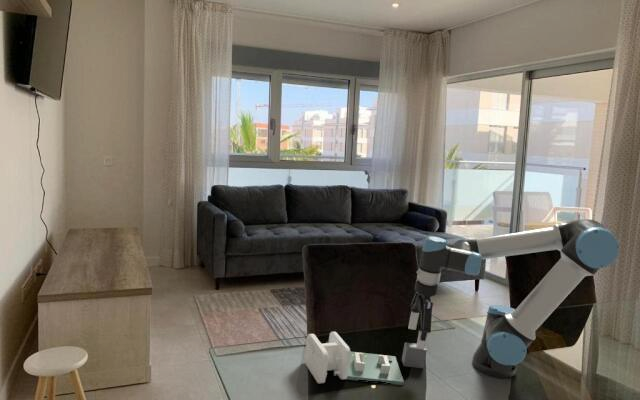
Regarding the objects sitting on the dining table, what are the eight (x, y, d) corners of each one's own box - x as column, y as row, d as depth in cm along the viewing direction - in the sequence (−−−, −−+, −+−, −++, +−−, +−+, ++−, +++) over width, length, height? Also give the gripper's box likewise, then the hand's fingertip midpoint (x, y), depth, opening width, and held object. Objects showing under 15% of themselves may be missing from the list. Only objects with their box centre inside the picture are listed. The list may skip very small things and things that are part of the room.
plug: (420, 362, 176) (424, 343, 175) (423, 368, 172) (427, 348, 171) (401, 360, 176) (405, 340, 174) (403, 366, 172) (407, 346, 170)
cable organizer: (348, 384, 157) (353, 351, 155) (317, 388, 153) (322, 354, 151) (330, 360, 170) (334, 329, 168) (301, 362, 166) (305, 331, 164)
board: (394, 359, 176) (396, 348, 175) (403, 385, 160) (405, 373, 159) (339, 353, 175) (341, 342, 174) (342, 378, 159) (344, 367, 158)
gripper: (409, 267, 180) (398, 320, 184) (425, 294, 155) (412, 355, 160) (429, 270, 180) (418, 323, 185) (448, 297, 156) (435, 358, 160)
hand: (415, 338), depth 172 cm, fingers open, 13 cm apart
